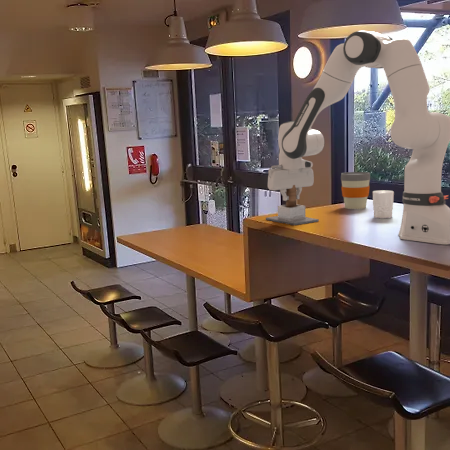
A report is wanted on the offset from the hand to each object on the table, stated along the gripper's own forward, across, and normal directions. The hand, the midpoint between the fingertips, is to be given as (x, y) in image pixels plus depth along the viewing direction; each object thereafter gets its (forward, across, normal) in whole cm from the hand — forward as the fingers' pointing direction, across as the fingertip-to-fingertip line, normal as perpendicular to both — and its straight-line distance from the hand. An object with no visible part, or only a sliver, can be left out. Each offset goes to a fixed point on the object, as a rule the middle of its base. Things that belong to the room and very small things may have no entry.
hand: (291, 199), depth 216 cm
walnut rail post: (+6, 0, 0) cm, 6 cm away
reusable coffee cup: (+8, +40, +6) cm, 41 cm away
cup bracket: (+8, 0, 0) cm, 8 cm away
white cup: (+8, +30, -19) cm, 36 cm away
